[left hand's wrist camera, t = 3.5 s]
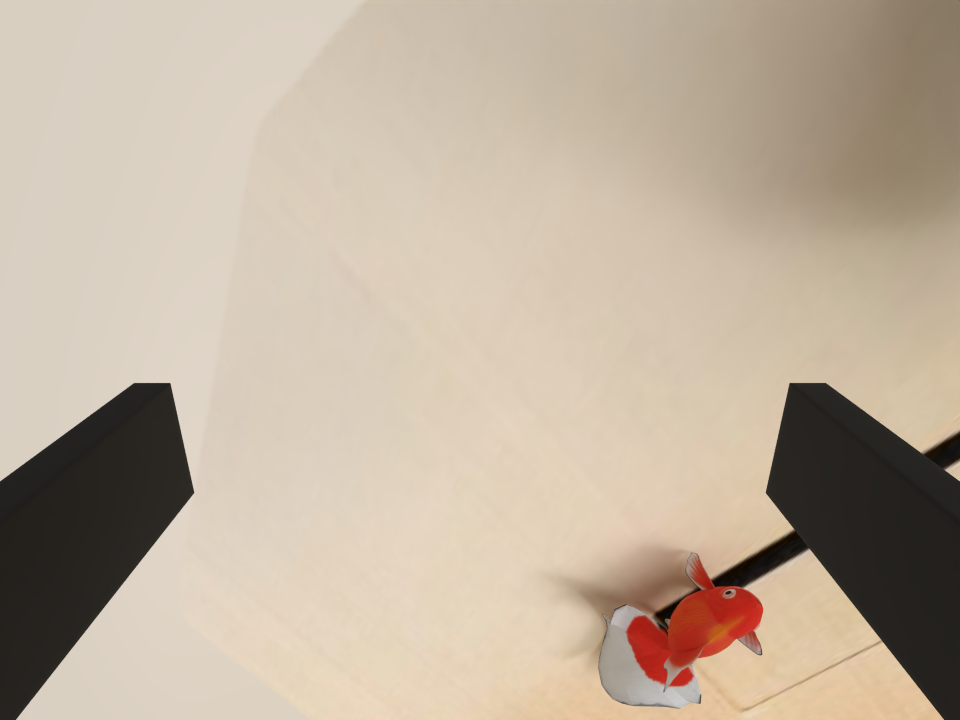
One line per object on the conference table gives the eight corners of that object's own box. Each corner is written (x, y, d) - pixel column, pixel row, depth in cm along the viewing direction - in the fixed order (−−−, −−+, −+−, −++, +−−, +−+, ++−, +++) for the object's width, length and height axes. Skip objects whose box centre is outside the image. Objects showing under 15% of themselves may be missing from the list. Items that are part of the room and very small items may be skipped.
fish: (814, 659, 45) (804, 766, 37) (635, 664, 54) (596, 751, 46) (755, 535, 45) (732, 616, 37) (586, 562, 54) (538, 631, 46)
